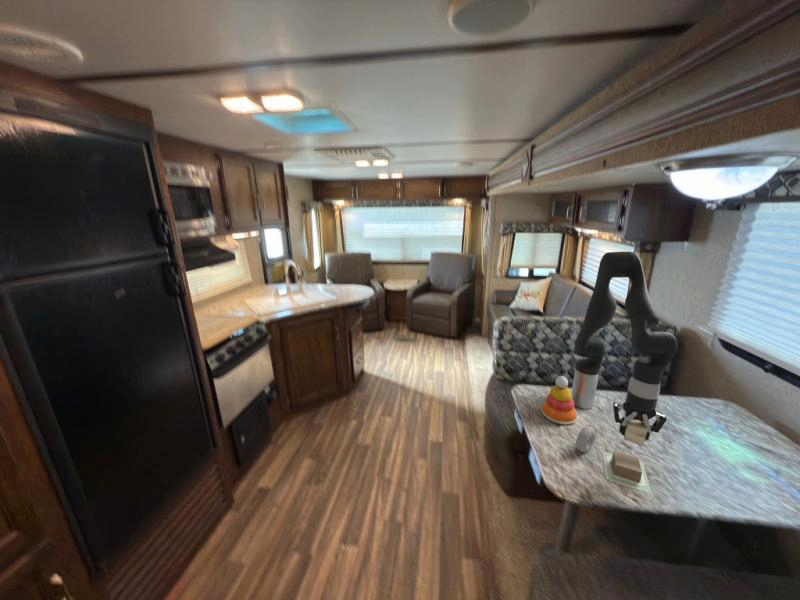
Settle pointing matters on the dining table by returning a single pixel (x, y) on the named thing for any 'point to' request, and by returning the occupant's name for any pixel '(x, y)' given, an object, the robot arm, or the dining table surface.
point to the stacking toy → (560, 404)
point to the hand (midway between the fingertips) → (632, 436)
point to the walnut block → (626, 466)
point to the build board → (610, 475)
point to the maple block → (635, 432)
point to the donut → (585, 439)
